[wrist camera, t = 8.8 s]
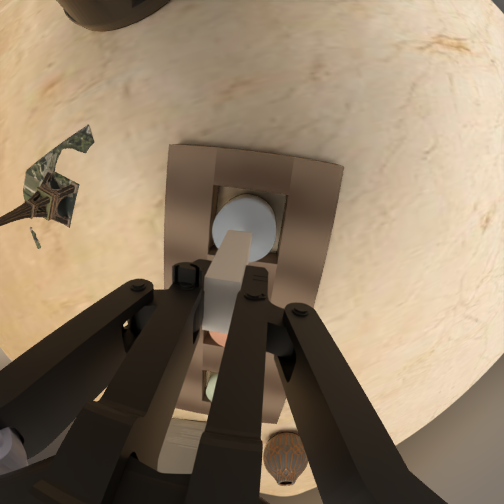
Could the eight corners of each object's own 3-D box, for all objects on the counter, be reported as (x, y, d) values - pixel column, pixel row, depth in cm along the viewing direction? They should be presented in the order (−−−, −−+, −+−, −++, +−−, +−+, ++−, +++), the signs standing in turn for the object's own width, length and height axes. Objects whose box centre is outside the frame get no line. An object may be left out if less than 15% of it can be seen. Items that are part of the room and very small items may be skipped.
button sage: (211, 361, 32) (206, 378, 29) (251, 367, 32) (249, 385, 29) (209, 386, 34) (205, 403, 31) (246, 392, 34) (244, 409, 31)
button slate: (222, 191, 23) (214, 197, 21) (279, 198, 23) (280, 206, 20) (217, 244, 25) (210, 258, 22) (271, 252, 25) (270, 266, 22)
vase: (308, 426, 36) (311, 473, 28) (307, 446, 39) (309, 488, 31) (262, 428, 37) (259, 476, 29) (266, 448, 40) (263, 490, 31)
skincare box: (218, 445, 40) (203, 522, 25) (179, 441, 41) (158, 514, 26) (209, 419, 37) (189, 509, 22) (165, 415, 38) (137, 497, 23)
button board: (178, 144, 23) (169, 144, 21) (337, 164, 23) (344, 166, 21) (177, 394, 35) (172, 407, 33) (276, 410, 35) (276, 423, 33)
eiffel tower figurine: (93, 121, 23) (-7, 125, 11) (123, 210, 27) (34, 262, 14) (16, 180, 26) (-61, 208, 14) (41, 250, 29) (-29, 298, 17)
